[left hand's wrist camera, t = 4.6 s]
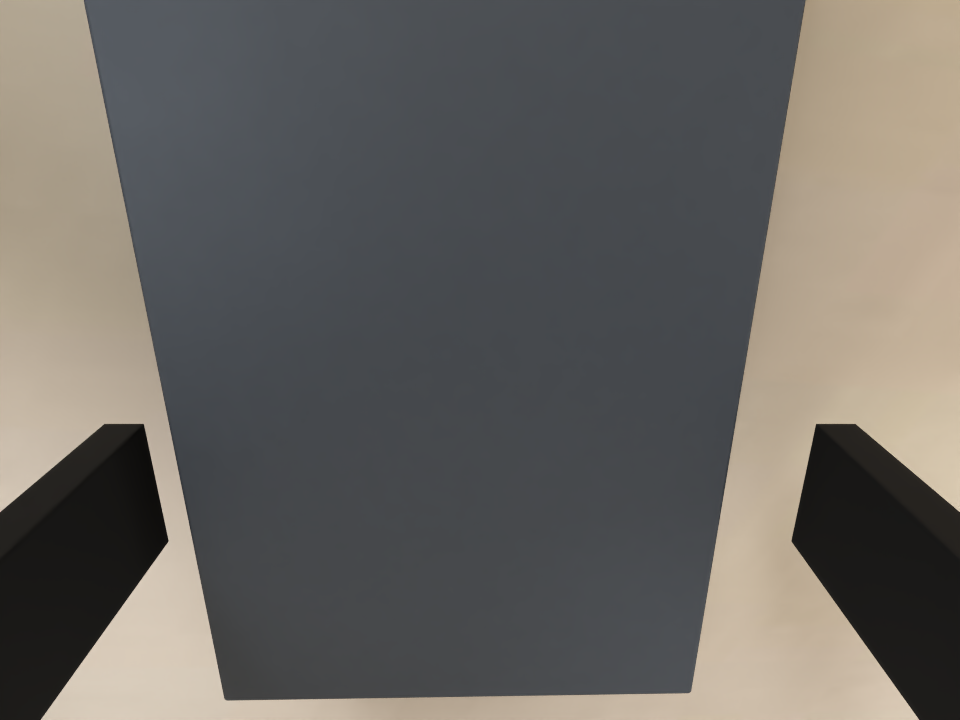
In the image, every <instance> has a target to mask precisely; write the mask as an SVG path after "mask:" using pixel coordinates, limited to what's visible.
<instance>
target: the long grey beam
mask: <svg viewBox="0 0 960 720" xmlns="http://www.w3.org/2000/svg"><path fill="white" fill-rule="evenodd" d="M84 4H85V8H86V13H87V18H88V23H89V28H90V33H91V38H92V43H93V48H94V53H95V58H96V63H97V68H98V73H99V78H100V83H101V88H102V93H103V98H104V103H105V108H106V113H107V118H108V123H109V128H110V133H111V138H112V143H113V147H114V152H115V157H116V162H117V167H118V172H119V177H120V182H121V187H122V192H123V197H124V202H125V207H126V212H127V217H128V222H129V227H130V232H131V237H132V242H133V247H134V252H135V257H136V262H137V267H138V272H139V277H140V282H141V286H142V291H143V296H144V301H145V306H146V311H147V316H148V321H149V326H150V331H151V336H152V341H153V346H154V351H155V356H156V361H157V366H158V371H159V376H160V381H161V386H162V391H163V396H164V401H165V406H166V411H167V416H168V420H169V425H170V430H171V435H172V440H173V445H174V450H175V455H176V460H177V465H178V470H179V475H180V480H181V485H182V490H183V495H184V500H185V505H186V510H187V515H188V520H189V525H190V530H191V535H192V540H193V545H194V550H195V555H196V559H197V564H198V569H199V574H200V579H201V584H202V589H203V594H204V599H205V604H206V609H207V614H208V619H209V624H210V629H211V634H212V639H213V644H214V649H215V654H216V659H217V664H218V669H219V674H220V679H221V684H222V689H223V693H224V698H225V700H283V699H346V698H410V697H473V696H536V695H599V694H662V693H690V692H691V688H692V682H693V676H694V670H695V664H696V658H697V652H698V646H699V640H700V634H701V628H702V622H703V616H704V610H705V604H706V598H707V592H708V586H709V579H710V573H711V567H712V561H713V555H714V549H715V543H716V537H717V531H718V525H719V519H720V513H721V507H722V501H723V495H724V489H725V483H726V477H727V471H728V465H729V459H730V453H731V447H732V441H733V435H734V429H735V423H736V416H737V410H738V404H739V398H740V392H741V386H742V380H743V374H744V368H745V362H746V356H747V350H748V344H749V338H750V332H751V326H752V320H753V314H754V308H755V302H756V296H757V290H758V284H759V278H760V272H761V266H762V260H763V254H764V247H765V241H766V235H767V229H768V223H769V217H770V211H771V205H772V199H773V193H774V187H775V181H776V175H777V169H778V163H779V157H780V151H781V145H782V139H783V133H784V127H785V121H786V115H787V109H788V103H789V97H790V91H791V85H792V78H793V72H794V66H795V60H796V54H797V48H798V42H799V36H800V30H801V24H802V18H803V12H804V6H805V0H84Z"/></svg>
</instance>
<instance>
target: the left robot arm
mask: <svg viewBox="0 0 960 720" xmlns="http://www.w3.org/2000/svg"><path fill="white" fill-rule="evenodd" d="M167 543H168V536H167V532H166V527H165V522H164V517H163V513H162V508H161V503H160V499H159V494H158V489H157V484H156V480H155V475H154V470H153V465H152V461H151V456H150V451H149V447H148V442H147V437H146V432H145V428H144V424H104V425H103V426H102V427H101V428H99V429H98V430H97V431H96V432H95V433H93V434H92V435H91V436H90V437H89V438H88V439H86V440H85V441H84V442H83V443H82V444H80V445H79V446H78V447H77V448H76V449H75V450H73V451H72V452H71V453H70V454H69V455H67V456H66V457H65V458H64V459H63V460H61V461H60V462H59V463H58V464H57V465H56V466H54V467H53V468H52V469H51V470H50V471H48V472H47V473H46V474H45V475H44V476H43V477H41V478H40V479H39V480H38V481H37V482H35V483H34V484H33V485H32V486H31V487H30V488H28V489H27V490H26V491H25V492H24V493H22V494H21V495H20V496H19V497H18V498H17V499H15V500H14V501H13V502H12V503H11V504H9V505H8V506H7V507H6V508H5V509H4V510H2V511H1V512H0V720H41V718H42V717H43V716H44V714H45V713H46V712H47V710H48V709H49V707H50V706H51V705H52V703H53V702H54V700H55V699H56V698H57V696H58V695H59V693H60V692H61V691H62V689H63V688H64V686H65V685H66V684H67V682H68V681H69V679H70V678H71V677H72V675H73V674H74V672H75V671H76V670H77V668H78V667H79V665H80V664H81V663H82V661H83V660H84V658H85V657H86V656H87V654H88V653H89V652H90V650H91V649H92V647H93V646H94V645H95V643H96V642H97V640H98V639H99V638H100V636H101V635H102V633H103V632H104V631H105V629H106V628H107V626H108V625H109V624H110V622H111V621H112V619H113V618H114V617H115V615H116V614H117V612H118V611H119V610H120V608H121V607H122V605H123V604H124V603H125V601H126V600H127V599H128V597H129V596H130V594H131V593H132V592H133V590H134V589H135V587H136V586H137V585H138V583H139V582H140V580H141V579H142V578H143V576H144V575H145V573H146V572H147V571H148V569H149V568H150V566H151V565H152V564H153V562H154V561H155V559H156V558H157V557H158V555H159V554H160V552H161V551H162V550H163V548H164V547H165V545H166V544H167ZM792 543H793V544H794V545H795V547H796V548H797V550H798V551H799V552H800V554H801V555H802V557H803V558H804V559H805V561H806V562H807V564H808V565H809V566H810V568H811V569H812V571H813V572H814V573H815V575H816V576H817V578H818V579H819V580H820V582H821V583H822V585H823V586H824V587H825V589H826V590H827V592H828V593H829V594H830V596H831V597H832V599H833V600H834V601H835V603H836V604H837V605H838V607H839V608H840V610H841V611H842V612H843V614H844V615H845V617H846V618H847V619H848V621H849V622H850V624H851V625H852V626H853V628H854V629H855V631H856V632H857V633H858V635H859V636H860V638H861V639H862V640H863V642H864V643H865V645H866V646H867V647H868V649H869V650H870V652H871V653H872V654H873V656H874V657H875V658H876V660H877V661H878V663H879V664H880V665H881V667H882V668H883V670H884V671H885V672H886V674H887V675H888V677H889V678H890V679H891V681H892V682H893V684H894V685H895V686H896V688H897V689H898V691H899V692H900V693H901V695H902V696H903V698H904V699H905V700H906V702H907V703H908V705H909V706H910V707H911V709H912V710H913V712H914V713H915V714H916V716H917V717H918V718H919V720H960V512H959V511H958V510H956V509H955V508H954V507H953V506H952V505H951V504H949V503H948V502H947V501H946V500H945V499H943V498H942V497H941V496H940V495H939V494H938V493H936V492H935V491H934V490H933V489H932V488H930V487H929V486H928V485H927V484H926V483H925V482H923V481H922V480H921V479H920V478H919V477H917V476H916V475H915V474H914V473H913V472H912V471H910V470H909V469H908V468H907V467H906V466H904V465H903V464H902V463H901V462H900V461H899V460H897V459H896V458H895V457H894V456H893V455H891V454H890V453H889V452H888V451H887V450H885V449H884V448H883V447H882V446H881V445H880V444H878V443H877V442H876V441H875V440H874V439H872V438H871V437H870V436H869V435H868V434H867V433H865V432H864V431H863V430H862V429H861V428H859V427H858V426H857V425H856V424H816V428H815V432H814V437H813V442H812V447H811V451H810V456H809V461H808V465H807V470H806V475H805V480H804V484H803V489H802V494H801V499H800V503H799V508H798V513H797V517H796V522H795V527H794V532H793V536H792Z"/></svg>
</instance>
